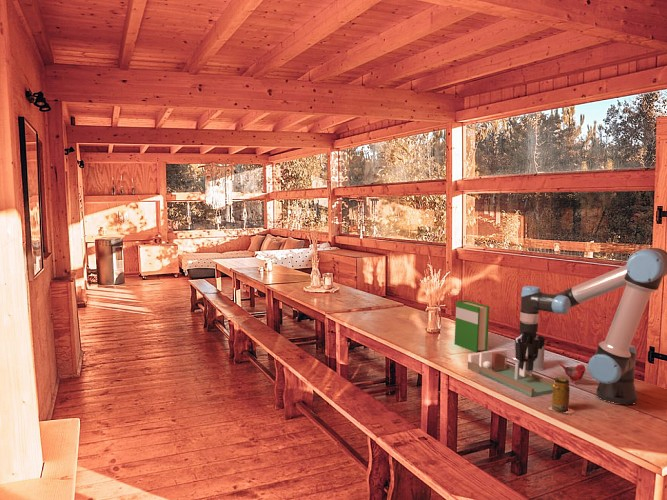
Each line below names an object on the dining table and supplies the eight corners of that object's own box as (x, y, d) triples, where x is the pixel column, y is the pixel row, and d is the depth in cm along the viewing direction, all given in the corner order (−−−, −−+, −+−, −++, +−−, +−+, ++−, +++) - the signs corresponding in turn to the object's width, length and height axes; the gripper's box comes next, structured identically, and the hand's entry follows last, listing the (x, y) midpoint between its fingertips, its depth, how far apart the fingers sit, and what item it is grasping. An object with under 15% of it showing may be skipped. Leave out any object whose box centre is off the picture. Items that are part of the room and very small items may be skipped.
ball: (488, 369, 264) (494, 368, 260) (482, 370, 262) (487, 369, 258) (486, 361, 265) (492, 360, 261) (480, 362, 263) (485, 361, 259)
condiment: (554, 404, 219) (556, 375, 218) (576, 410, 213) (578, 380, 212) (547, 409, 214) (549, 379, 213) (569, 415, 208) (571, 384, 207)
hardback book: (487, 351, 293) (489, 306, 291) (476, 352, 290) (478, 307, 288) (464, 342, 309) (466, 300, 307) (454, 344, 306) (456, 301, 303)
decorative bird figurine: (581, 389, 237) (583, 366, 236) (555, 375, 254) (556, 354, 253) (587, 388, 238) (589, 366, 237) (560, 375, 255) (561, 354, 254)
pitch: (558, 391, 233) (559, 368, 232) (531, 396, 227) (532, 373, 226) (492, 364, 269) (493, 344, 268) (467, 368, 262) (468, 348, 261)
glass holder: (545, 371, 260) (547, 340, 259) (514, 369, 263) (516, 338, 262) (542, 366, 269) (544, 336, 267) (512, 363, 272) (513, 333, 270)
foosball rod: (534, 382, 239) (536, 358, 238) (524, 384, 236) (525, 360, 235) (501, 368, 257) (502, 346, 256) (491, 370, 255) (492, 347, 254)
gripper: (536, 318, 244) (532, 370, 246) (508, 321, 237) (505, 374, 239) (549, 322, 237) (545, 375, 240) (521, 325, 230) (517, 380, 233)
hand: (525, 375), depth 240 cm, fingers closed on foosball rod, 3 cm apart
